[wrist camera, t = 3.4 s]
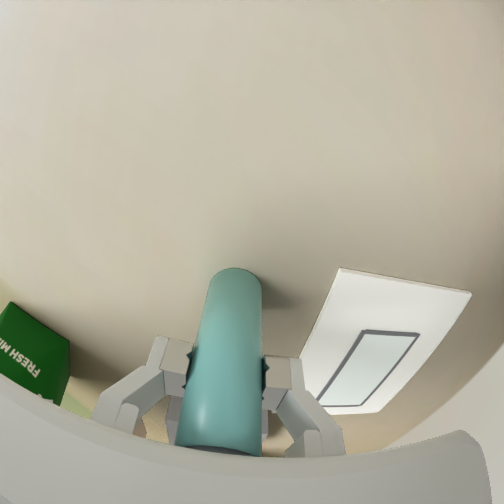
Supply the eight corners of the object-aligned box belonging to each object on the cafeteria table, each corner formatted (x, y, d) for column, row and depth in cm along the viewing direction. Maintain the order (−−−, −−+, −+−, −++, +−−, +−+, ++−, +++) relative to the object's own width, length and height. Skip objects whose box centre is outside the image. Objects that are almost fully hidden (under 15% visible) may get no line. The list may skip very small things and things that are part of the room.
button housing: (172, 388, 20) (165, 418, 17) (267, 403, 21) (268, 433, 18) (175, 424, 24) (170, 448, 21) (250, 435, 24) (249, 459, 22)
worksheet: (339, 267, 14) (341, 273, 13) (469, 291, 15) (473, 295, 14) (270, 408, 21) (270, 413, 21) (377, 408, 22) (378, 413, 21)
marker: (212, 263, 14) (163, 472, 5) (267, 273, 14) (271, 485, 5) (206, 305, 15) (170, 487, 6) (255, 313, 15) (251, 497, 7)
